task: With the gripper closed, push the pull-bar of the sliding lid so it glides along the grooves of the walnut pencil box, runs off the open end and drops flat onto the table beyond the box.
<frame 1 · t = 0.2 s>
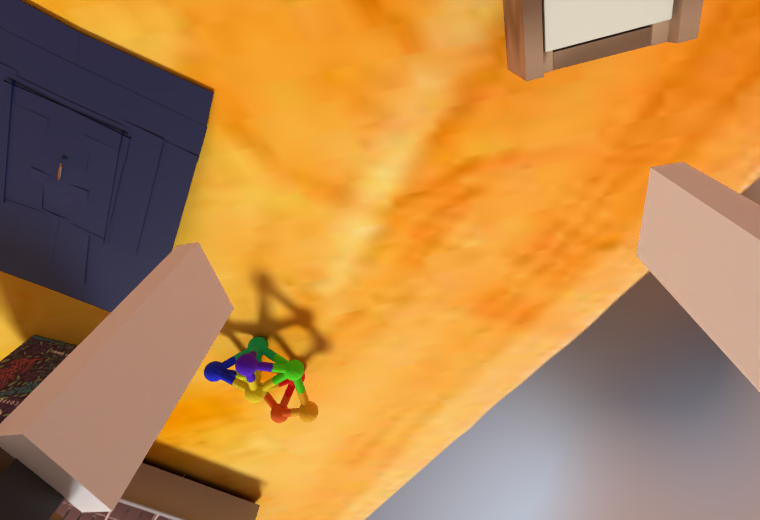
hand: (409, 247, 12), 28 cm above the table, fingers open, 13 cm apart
dark blue flat slab: (79, 170, 42), on the table
decorative model: (274, 357, 56), on the table
organizer tray: (151, 494, 82), on the table
black coffee bag: (91, 363, 59), on the table
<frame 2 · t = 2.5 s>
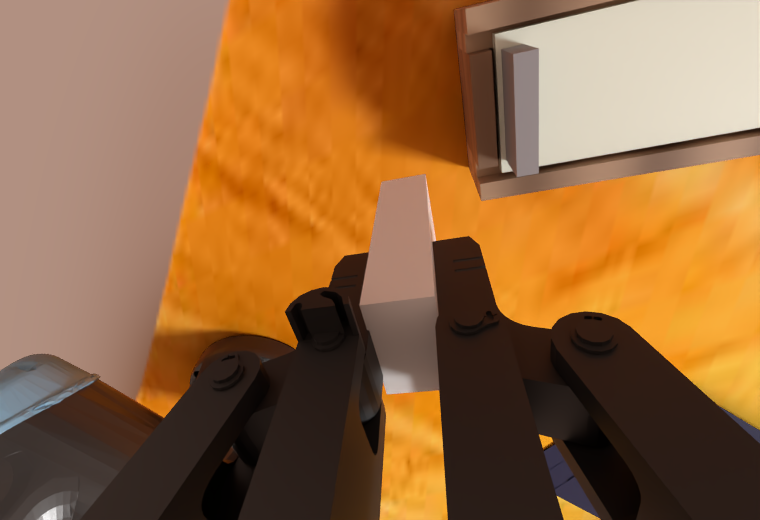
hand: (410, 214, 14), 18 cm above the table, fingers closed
box: (623, 62, 27), on the table
dark blue flat slab: (660, 460, 51), on the table
lid: (665, 72, 22), point 5 cm above the table, touching box
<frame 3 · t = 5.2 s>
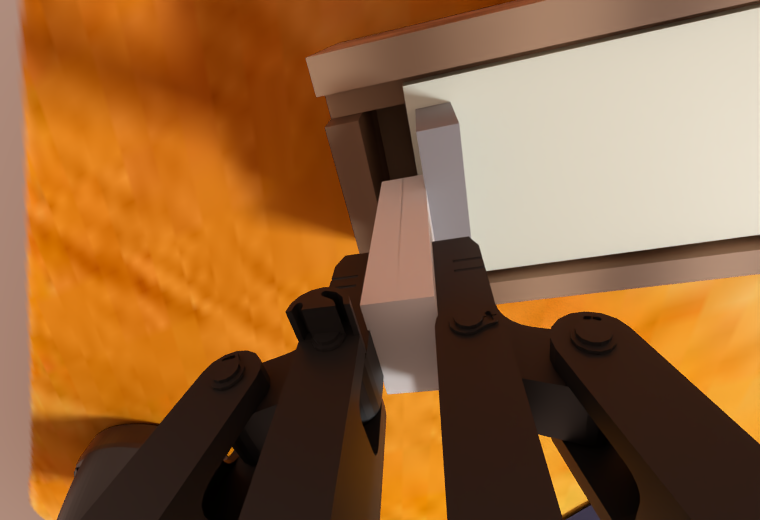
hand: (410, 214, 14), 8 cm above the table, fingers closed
box: (584, 117, 19), on the table
lid: (678, 142, 14), point 5 cm above the table, touching gripper
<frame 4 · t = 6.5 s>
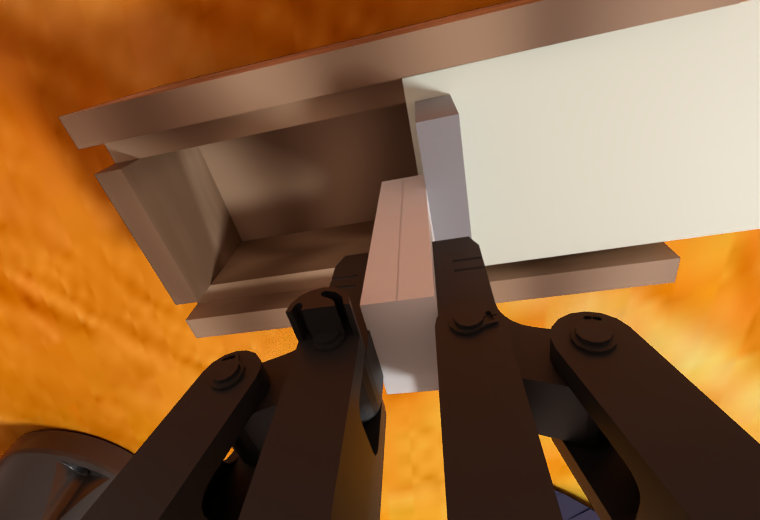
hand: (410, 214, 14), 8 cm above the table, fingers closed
box: (393, 153, 20), on the table
lid: (679, 135, 14), point 5 cm above the table
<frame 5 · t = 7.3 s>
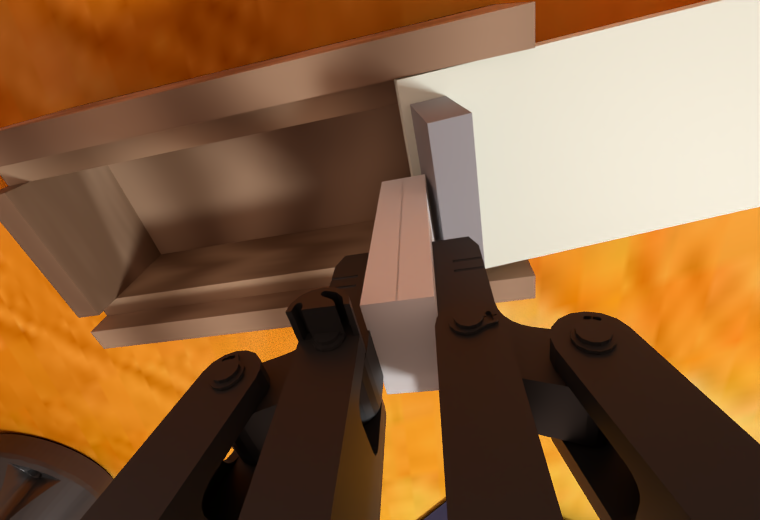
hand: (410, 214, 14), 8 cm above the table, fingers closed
box: (295, 171, 21), on the table
lid: (655, 130, 15), point 4 cm above the table, tilted 9°, touching box, gripper
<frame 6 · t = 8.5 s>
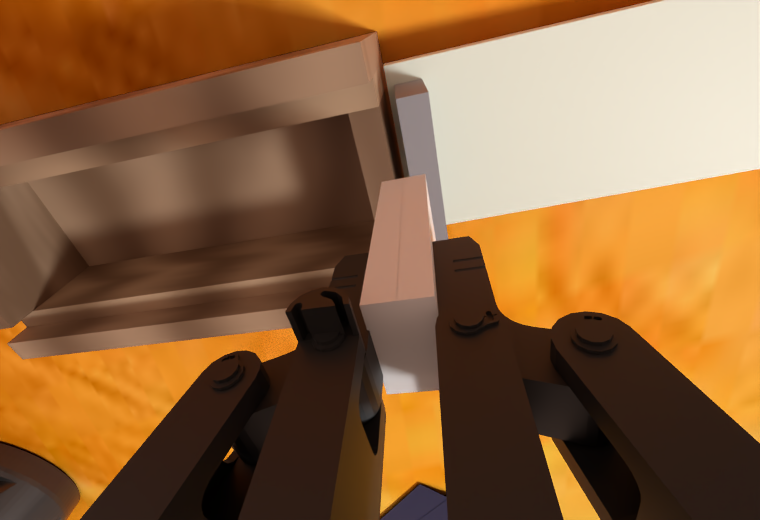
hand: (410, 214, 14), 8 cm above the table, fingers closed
box: (209, 187, 22), on the table
lid: (603, 110, 18), point 1 cm above the table
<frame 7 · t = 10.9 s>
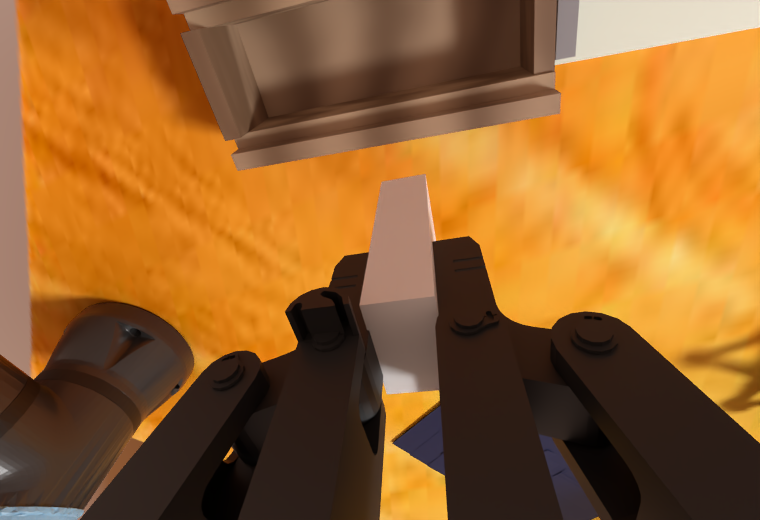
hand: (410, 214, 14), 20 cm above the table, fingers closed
box: (378, 44, 28), on the table
dark blue flat slab: (527, 438, 54), on the table
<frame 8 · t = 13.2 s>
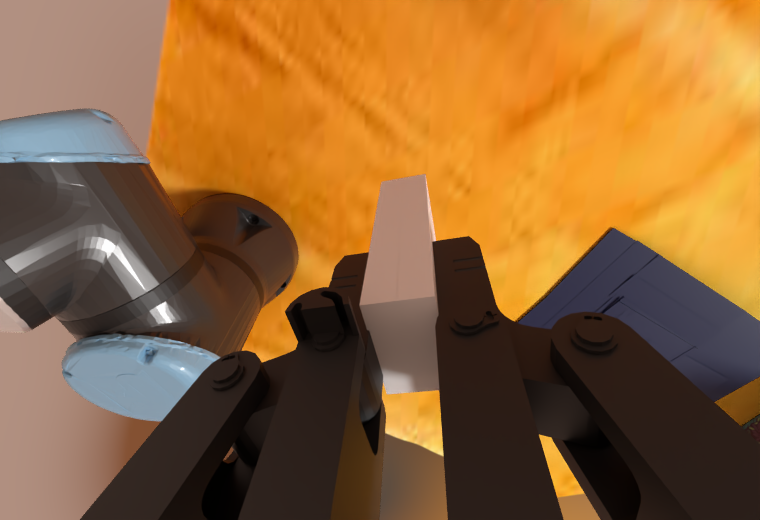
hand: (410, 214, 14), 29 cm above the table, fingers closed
dark blue flat slab: (623, 337, 55), on the table
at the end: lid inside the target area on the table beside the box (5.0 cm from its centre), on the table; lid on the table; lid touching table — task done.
